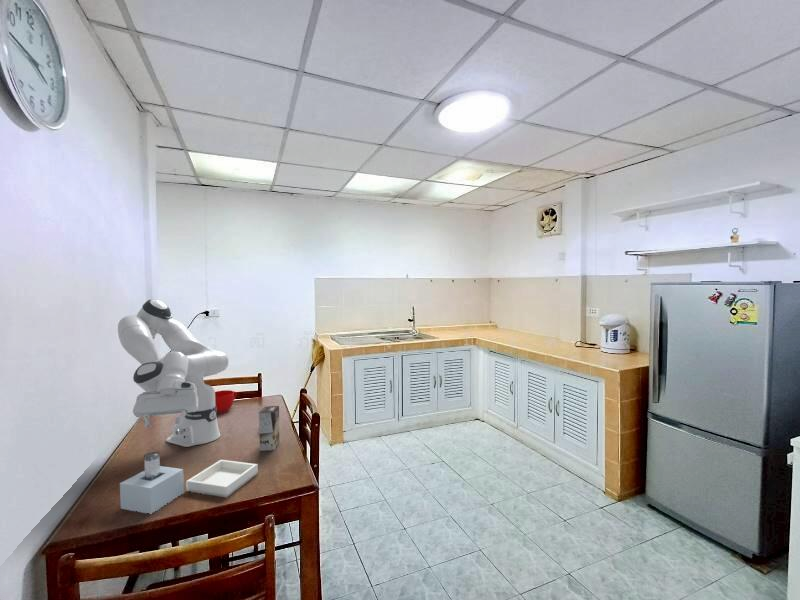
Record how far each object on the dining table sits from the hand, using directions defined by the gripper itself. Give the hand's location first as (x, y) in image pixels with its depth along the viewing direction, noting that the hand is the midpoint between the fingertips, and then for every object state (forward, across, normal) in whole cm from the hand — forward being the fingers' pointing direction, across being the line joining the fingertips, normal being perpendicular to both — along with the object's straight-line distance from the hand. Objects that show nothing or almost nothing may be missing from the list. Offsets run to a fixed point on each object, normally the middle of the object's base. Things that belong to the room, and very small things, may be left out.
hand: (162, 425), depth 130 cm
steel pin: (+19, 0, +2) cm, 20 cm away
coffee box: (+1, +34, +28) cm, 44 cm away
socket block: (+23, 0, +6) cm, 24 cm away
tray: (+19, +20, +10) cm, 29 cm away
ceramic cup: (-41, +7, +70) cm, 82 cm away
